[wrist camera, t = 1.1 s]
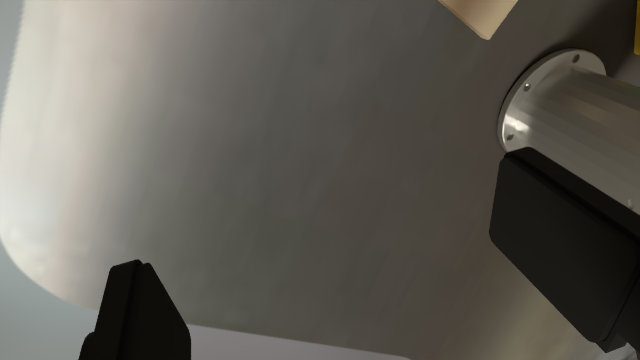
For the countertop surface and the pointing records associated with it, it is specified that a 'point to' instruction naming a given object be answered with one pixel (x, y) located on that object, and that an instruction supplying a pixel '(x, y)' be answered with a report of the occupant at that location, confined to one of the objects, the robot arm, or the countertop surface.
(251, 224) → the countertop surface
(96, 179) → the countertop surface
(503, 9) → the jug stand
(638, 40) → the dish sponge
